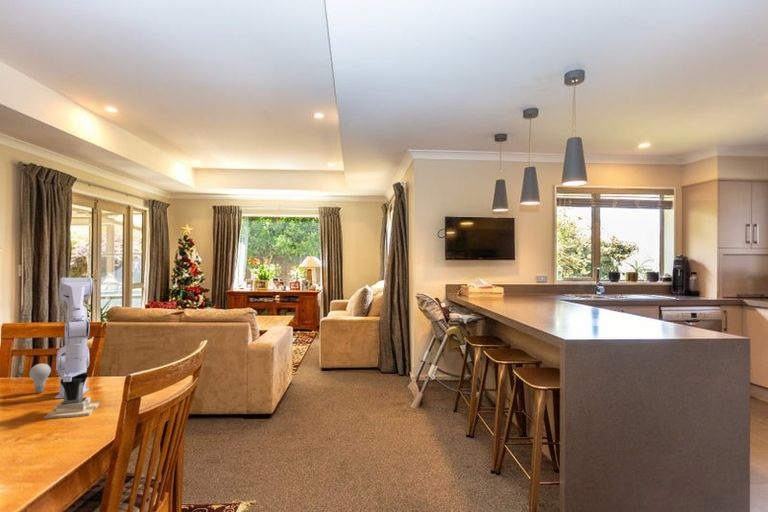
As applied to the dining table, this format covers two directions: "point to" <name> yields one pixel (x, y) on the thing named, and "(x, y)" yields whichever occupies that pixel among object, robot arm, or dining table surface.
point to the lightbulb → (40, 376)
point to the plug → (79, 396)
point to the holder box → (73, 409)
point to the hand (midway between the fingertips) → (74, 397)
